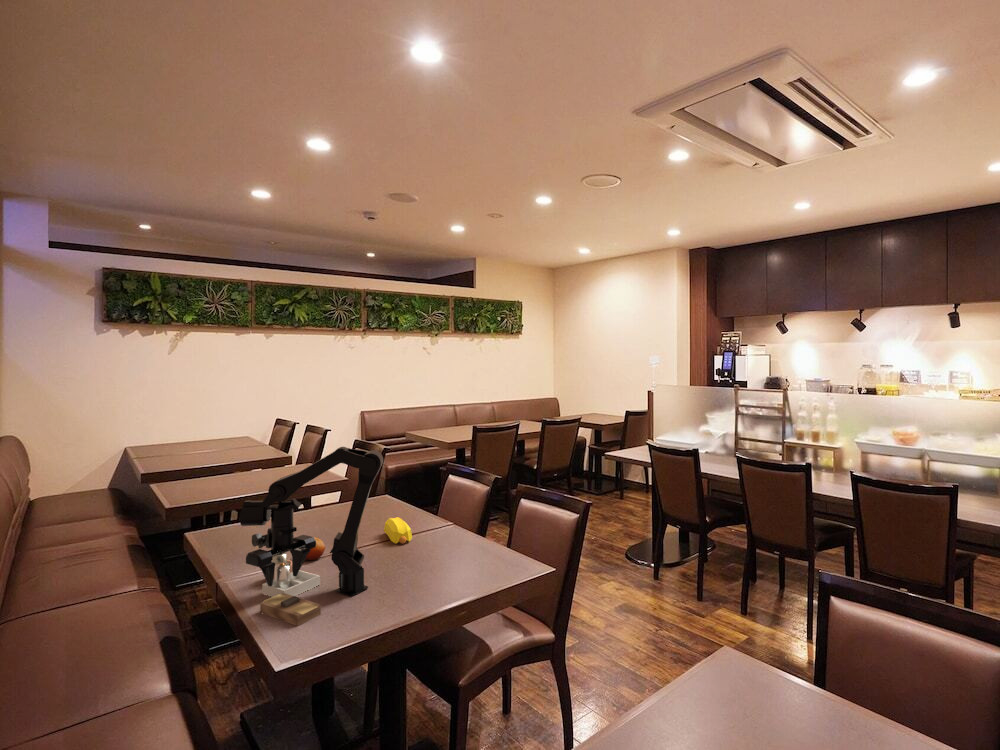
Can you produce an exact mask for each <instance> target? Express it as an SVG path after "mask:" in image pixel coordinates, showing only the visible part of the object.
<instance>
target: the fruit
mask: <svg viewBox="0 0 1000 750" xmlns="http://www.w3.org/2000/svg"><path fill="white" fill-rule="evenodd" d="M313 537H314V538H315V540H316V547H314V548H312V549H311V552H309V553H308V554H307V556H306V558H305V560H307V561H308V560H309V561H317V560H319V559H320V558H321V557H322V556H323V554H324V552H325V550H326V546H325V543H324V542H323V540H321V539H320V538H318V537H315V536H313ZM305 560H304V561H305Z"/></svg>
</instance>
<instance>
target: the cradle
mask: <svg viewBox="0 0 1000 750" xmlns="http://www.w3.org/2000/svg"><path fill="white" fill-rule="evenodd" d="M259 607H260V610H259V611H260V614H262V613H263V614H262V615H265V614H266V616H268V617H271V618H274V619H277V620H279V621H282V622H286V623H288V624H292V625H294V626H297V627H299V626H301V625H303V624H304V623H306V622H309V621H310V620H312V619H314V618H316V617H319V616H321V613H322V611H321V610H322V608H321V607H322V605H321V604H320V603H318V602H313V601H312V600H311V601H310V600H307V599H305V598H301V597H298V596H292V595H289V594H285V593H283V594H279V595H276V596H274V597H269V598H267V599H264V600H263V601H262V602H260V603H259Z"/></svg>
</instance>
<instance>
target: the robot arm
mask: <svg viewBox="0 0 1000 750" xmlns="http://www.w3.org/2000/svg"><path fill="white" fill-rule="evenodd" d="M383 463H384V456H383V455H382V453H381V452H380V451H378V450H373V449H372V450H369V451H366V450H363V449H361V450H360V449H354V448H349V447H346V446H340V447H338V448H336V450H334V451H332V452H331V453H329V454H327V455H326V456H325V457H322V458H321V459H319V460H317V461H315V462H314V463H312V464H310V465H309V466H306V467H305V468H304V469H302V470H299V471H297V472H293V473H290V474H287V475H285V476H283V477H280V478H279V479H277V480H275V481H274V482H272V483H271V484H270V485H269V487H268V494H267V495H266V497H265V498H264V499H263V500H261V499H260V500H252V499H251V500H250V499H248V500H244V501H243V502H242V506H241V507H242V508H241V510H240V515H239V523H240V525H241V527H250V526H251V527H252V526H255V527H256V526H265V525H266V524H267V522H270V527H269V528H267V534H262V533H261V532H258V533H255V534H252V535H251V545H252V547H254V548H255V547H258V549H256V550H253V551H249V552H248V553H247V554H246V555H245V564H247V565H250V566H253V567H256V568H259V569H260V571H261V572H262V573H263V574H262V575H263V576H264V579H265V581H266V583H267V584H268V586H270V587H271V586H272V584H273V578H274V570H275V563H274V562H272V560H273V557H274V556H277V555H279V554H282V553H285V552H287V553H288V552H290V554H291V561H292V571H293V576H297V574H298V572H299V570H301V568H302V565H303V563H304V562H305V558H306V556H307V554H308V553H309V552H311V549H312V548H314V547H316V540H315V538H316V537H315V536H310V535H305V534H301V535H299V536H295V537H294V533H295V532H297V530H298V529H297V528H298V527H296V526H294V510H297V509H299V508H300V507H301V506H302V503H301V502H300V501H298V500H297V499H296V498H293V499H292V500H291V501H290V500H289V501H286V500H288V499H289V498H290V497H291V496H292V495H294V494H295V493H296V492H297V491H298V490H300V489H301V488H302V487H303V486H304V485H306V484H307V483H309V482H311V481H313V480H314V479H315V478H317V477H320V476H321V475H322V474H324V473H326V472H328V471H329V470H331V469H333V468H334V467H336V466H337V465H339V464H343V465H346V466H350V467H352V468H355V469H358V480H357V485H356V486H357V487H356V488H355V492H354V496H353V499H352V502H351V505H350V509H349V511H348V512H349V513H348V515H347V519H346V521H345V525H344V529H343V531H342V532H340V531H338V532H337V534H336V535H335V537H334V539H333V545H332V548H331V550H330V551H329V553H330V554H331V561H332V563H333V564H334V565H335V566H336V567H337V568H338V569H337V570H338V571H339V572H338V588H336V589H335V593H338V594H342V595H345V596H349V597H353V596H356V595H358V594H360V593H361V592H364V591H365V590H367V589H369V586H367V585H365V567H363V566H362V564H363V561H364V558H365V554H363V553H362V552H361V551H360V550H359V549H358V541H359V539H358V537H359V529H360V526H361V523H362V519H363V516H364V512H365V510H366V505H367V502H368V499H369V495H370V492H371V489H372V485H373V484H374V481H375V479H376V478H377V476H378V474H379V472H380V470H381V467H382V466H383ZM276 502H277V503H278V504H275V503H276ZM314 537H315V538H314ZM263 547H265V548H266V549H269V550H264V549H262V548H263Z"/></svg>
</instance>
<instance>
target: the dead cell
mask: <svg viewBox="0 0 1000 750" xmlns="http://www.w3.org/2000/svg"><path fill="white" fill-rule="evenodd" d="M287 560H288V552H285V553H282V554H279V555H277V556H274V557H273V560H272V562H274V563H275V565H277V564H280V563H287Z"/></svg>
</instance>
